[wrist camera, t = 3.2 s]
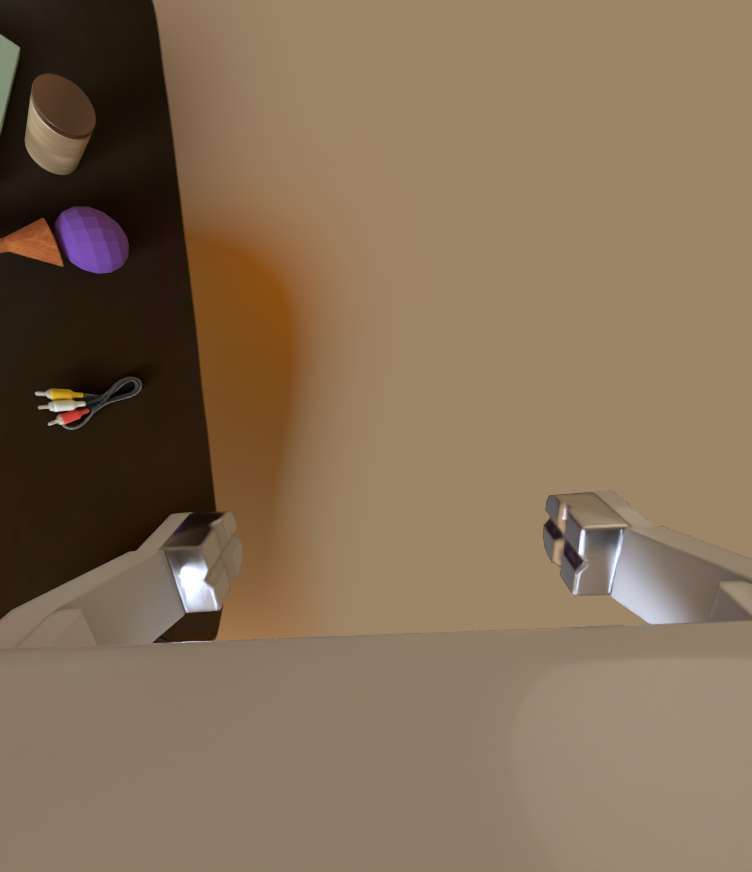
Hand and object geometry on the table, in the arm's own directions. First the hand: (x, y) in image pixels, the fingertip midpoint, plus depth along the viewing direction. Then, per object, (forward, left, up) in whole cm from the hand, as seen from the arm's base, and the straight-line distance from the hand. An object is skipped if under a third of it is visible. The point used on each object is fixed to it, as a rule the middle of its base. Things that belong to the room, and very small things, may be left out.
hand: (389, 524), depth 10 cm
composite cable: (+1, -1, -46) cm, 47 cm away
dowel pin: (-7, +23, -46) cm, 52 cm away
